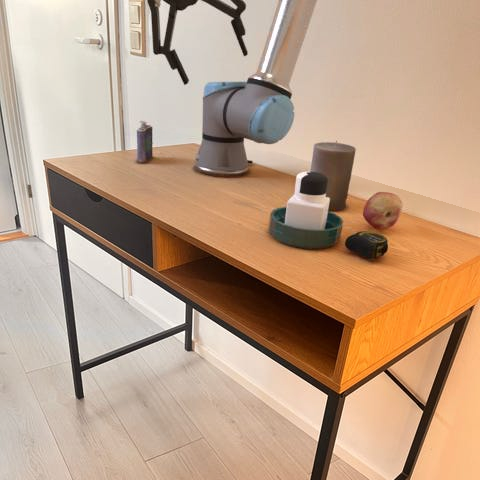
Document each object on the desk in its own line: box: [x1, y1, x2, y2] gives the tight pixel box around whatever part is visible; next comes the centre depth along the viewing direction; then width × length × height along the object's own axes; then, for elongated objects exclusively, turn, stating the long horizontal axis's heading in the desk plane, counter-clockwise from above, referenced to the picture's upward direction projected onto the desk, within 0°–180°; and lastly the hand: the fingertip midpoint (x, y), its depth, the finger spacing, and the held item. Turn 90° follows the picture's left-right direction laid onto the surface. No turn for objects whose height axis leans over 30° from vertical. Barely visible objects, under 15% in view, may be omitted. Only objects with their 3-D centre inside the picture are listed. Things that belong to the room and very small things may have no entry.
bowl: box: [268, 205, 344, 250], centre depth 99 cm, size 14×14×4 cm
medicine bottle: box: [285, 170, 330, 230], centre depth 96 cm, size 7×7×12 cm
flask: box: [136, 120, 154, 164], centre depth 141 cm, size 9×3×11 cm, turn 172°
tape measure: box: [344, 230, 389, 261], centre depth 92 cm, size 7×7×4 cm
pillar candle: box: [309, 140, 357, 212], centre depth 115 cm, size 10×10×15 cm
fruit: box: [362, 191, 404, 231], centre depth 105 cm, size 8×8×8 cm
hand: (215, 69), depth 102 cm, fingers open, 13 cm apart
